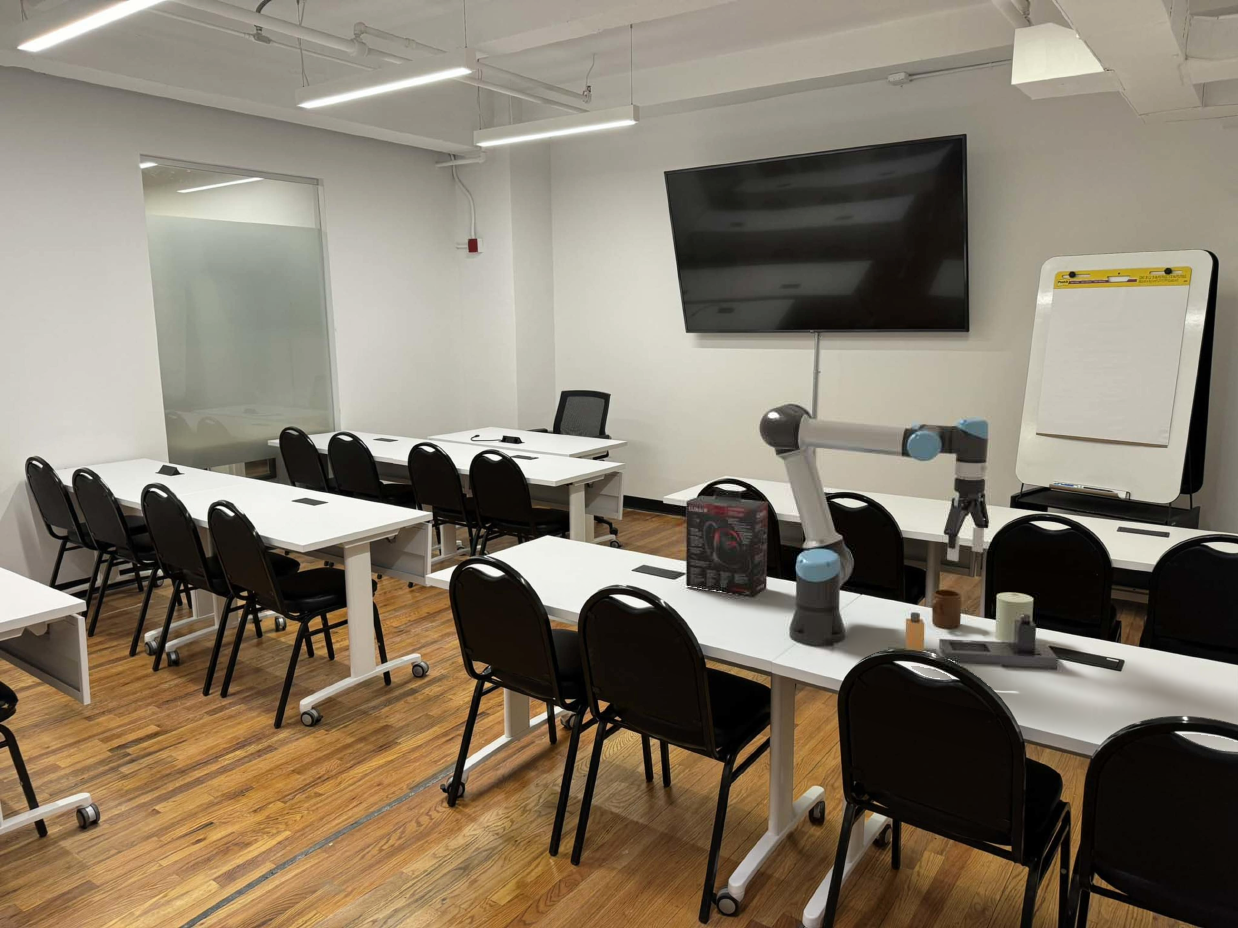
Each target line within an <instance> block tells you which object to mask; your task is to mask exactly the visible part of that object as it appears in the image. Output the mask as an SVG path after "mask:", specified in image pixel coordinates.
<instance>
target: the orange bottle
mask: <svg viewBox="0 0 1238 928" xmlns="http://www.w3.org/2000/svg"><path fill="white" fill-rule="evenodd" d="M925 625H926V624H925V622H924V620H923V619H922V618H921V613H920V612H915V611H914V612H911V613H910V618H905V637H904V638H905V640H904V642H905V643H904V645H905V646H904V648H905V649H910V650H917V651H924V649H925Z"/></svg>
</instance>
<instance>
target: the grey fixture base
mask: <svg viewBox="0 0 1238 928" xmlns="http://www.w3.org/2000/svg"><path fill="white" fill-rule="evenodd" d="M1030 617H1031V615H1029V614H1021V620H1015V626H1014V642H1003V641H991V640H972V639H970V640H969V639H968V640H967V639H950V638H949V639H948V638H947V639H946V638H945V639H944V638H939V639H938V649H939V652H940V654H941V656H942V658H943V657H944V658H946V659H950V660H952V661H955V662H957V663H956V664H970V665H971V664H973V665H974V664H975V665H988V666H989V665H991V666H992V665H993V666H1001V668H1013V669H1014V668H1015V669H1016V668H1019V669H1035V670H1036V669H1037V670H1038V669H1039V670H1055V671H1057V670H1058V661H1059V660H1058V659H1059V657H1058V656H1057V655H1056V654H1055V653H1054V651H1053V650H1052V649H1051V648H1050V647H1049V645H1047V643H1039V642H1038V643H1036V637H1037V636H1036V635H1037V634H1036V633H1037V624H1035V623H1034V621H1033V619H1032V620H1030ZM944 658H943V659H944Z"/></svg>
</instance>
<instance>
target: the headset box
mask: <svg viewBox="0 0 1238 928" xmlns="http://www.w3.org/2000/svg"><path fill="white" fill-rule="evenodd" d="M685 505H686V509H685V511H686V512H685V514H686V516H685V518H686V519H685V520H686V521H685V522H686V524H685V526H686V527H685V534H686V535H685V537H686V538H685V539H686V540H685V541H686V543H685V545H686V547H685V548H686V550H685V551H686V552H685V554H686V555H685V557H686V560H685V562H686V564H685V565H686V566H685V569H686V570H685V577H686V579H685V582H686V583H685V586H686V585H687V586H691V587H697V588H702V589H708V590H716V591H722V592H726V593H725V594H727V593H732V594H731V595H734V594H738V595H737V596H740V595H743V596H742V597H747V596H748V597H749V598H755V597H756V596H758V595H759V594H761V593H762V592H764V591H765V590H766V589H767V581H768V579H767V576H768V575H767V573H768V572H767V571H768V570H767V569H768V567H767V566H768V524H769V523H768V520H769V519H768V517H769V502H768V501H761V500H753V499H752V500H750V499H742V498H741V492H740V490H730V489H720V488H716V489H715V492H714V495H713V496H708V495H707V496H706V495H700V496H697V497H692V498H690V499H688V500H686V504H685ZM702 589H701V590H702ZM708 590H707V591H708ZM763 590H764V591H763Z"/></svg>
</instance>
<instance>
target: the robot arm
mask: <svg viewBox="0 0 1238 928" xmlns="http://www.w3.org/2000/svg"><path fill="white" fill-rule="evenodd" d="M759 421H760V423H759V428H758V429H759V434H760V437H761V439H762V441H764V443H766V444H767V446H769V447H771V448H773V449H774V453H775V455H776V457H778V458H779V459H780V460H782V461H783V463H784V468H785V471H786V473H787V474H786V475H787V477H788V481H789V484H790V488H791V491H792V495H793V499H794V503H795V504H796V508H797V513H798V516H799V519H800V523H801V526H802V530H803V533H804V537H805V541H804V543H803V545H802V549H803V551H802V552H801V553H799V555H797V558H796V564H795V573H796V575H795V576H796V578H795V583H796V584H795V610H794V613H793V617H792V619H791V622H790V626H789V633H788V634H789V637H790V639H792V640H793V641H795V642H798V643H801V644H804V645H809V646H823V647H824V646H833V645H834V644H838V643H842V642H843V641H845V639H846V633H847V631H846V627H845V623H844V620H843V619H842V615H841V612H840V592H841V591H840V590H841V587H842V585H843V584H844V583H845V582H847V581H848V580H849V578H850V577H851V575H852V573H853V568H854V558H853V553H851V551H850V549H849V548H848V547H846V545H845V541H844V538H843V535H842V534H839V533H838V532H837V531H836V529H835V526H834V522H833V519H832V515H831V511H830V507H829V505H828V502H827V498H826V497H827V496H826V495H825V491H824V487H823V484H822V480H821V477H820V473H819V470H818V466H817V463H816V460H815V456H814V450H815V448H816V449H817V448H818V449H826V450H835V451H845V452H846V451H847V452H855V453H863V454H873V455H875V454H876V455H883V456H884V455H885V456H895V457H903V458H910V459H914V460H917V461H919V462H929V461H931V460H933V459H934V458H936V457H937V456H938V455H939V454H945V455H946V454H948V455H955V464H954V465H955V466H954V476H956V477H955V478H954V481H953V483H954V486H953V491H954V492H957V493H958V498H957V497H952V498H951V505H950V509H949V513H948V515H947V518H946V523H945V526H944V529H943V534H944V536H947V538H948V539H947V555H946V559H947V560H949V561H954V562H958V561H959V555H960V553H959V552H960V535H959V533H960V531H961V529H962V527H963V525H964V521H965V519H966V518H967V516H970V517H971V519H972V521H973V524H974V526H973V529H972V541H971V542H972V543H971V552H976V553H977V552H978V553H983V552H984V539H985V529H989V524H990V518H989V514H988V513H989V512H988V508H987V504H986V493H985V489H986V479H985V477H986V471H987V470H988V467H987V457H988V446H989V422H988V421H987V420H985V419H982V418H967V417H966V418H965V417H964V418H959V419H958V421H957V424H956V425H939V424H936V425H935V424H926V423H922V424H912V425H911V426H910V427H899V426H889V425H878V424H867V423H856V422H846V421H835V420H825V419H814V417H813V415H812V413H811V412H810V411H809V410H808V409H807V408H806V407H804V406H802V405H799V404H796V403H795V404H794V403H789V404H783V405H781V406H776V407H774V408H771V409H769V410H768V411H766V412H765V413H764V414H763V416H762V418H761V419H760V420H759Z"/></svg>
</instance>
